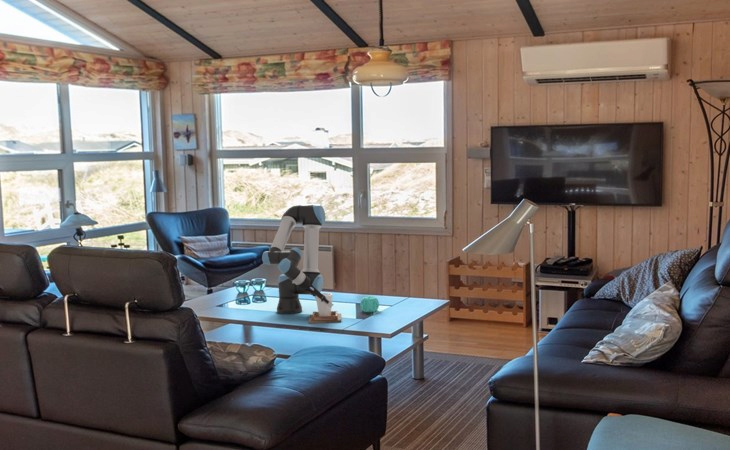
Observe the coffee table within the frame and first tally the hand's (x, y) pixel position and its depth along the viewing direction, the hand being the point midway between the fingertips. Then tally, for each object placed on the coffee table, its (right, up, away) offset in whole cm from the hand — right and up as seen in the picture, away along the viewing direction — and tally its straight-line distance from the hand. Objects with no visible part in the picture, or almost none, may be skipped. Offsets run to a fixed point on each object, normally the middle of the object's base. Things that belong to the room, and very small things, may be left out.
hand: (327, 304), depth 423 cm
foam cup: (-2, -8, 0) cm, 8 cm away
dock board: (-2, -9, 0) cm, 9 cm away
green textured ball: (+24, -6, +20) cm, 31 cm away
